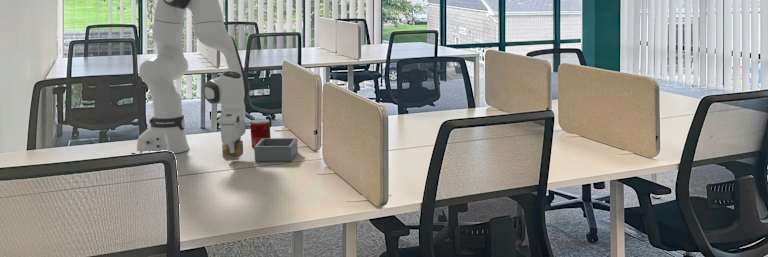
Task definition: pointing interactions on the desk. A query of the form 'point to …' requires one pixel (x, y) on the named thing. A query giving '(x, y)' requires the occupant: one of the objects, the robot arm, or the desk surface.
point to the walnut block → (236, 149)
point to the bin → (276, 150)
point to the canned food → (259, 130)
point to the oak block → (224, 150)
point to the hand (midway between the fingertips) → (234, 150)
